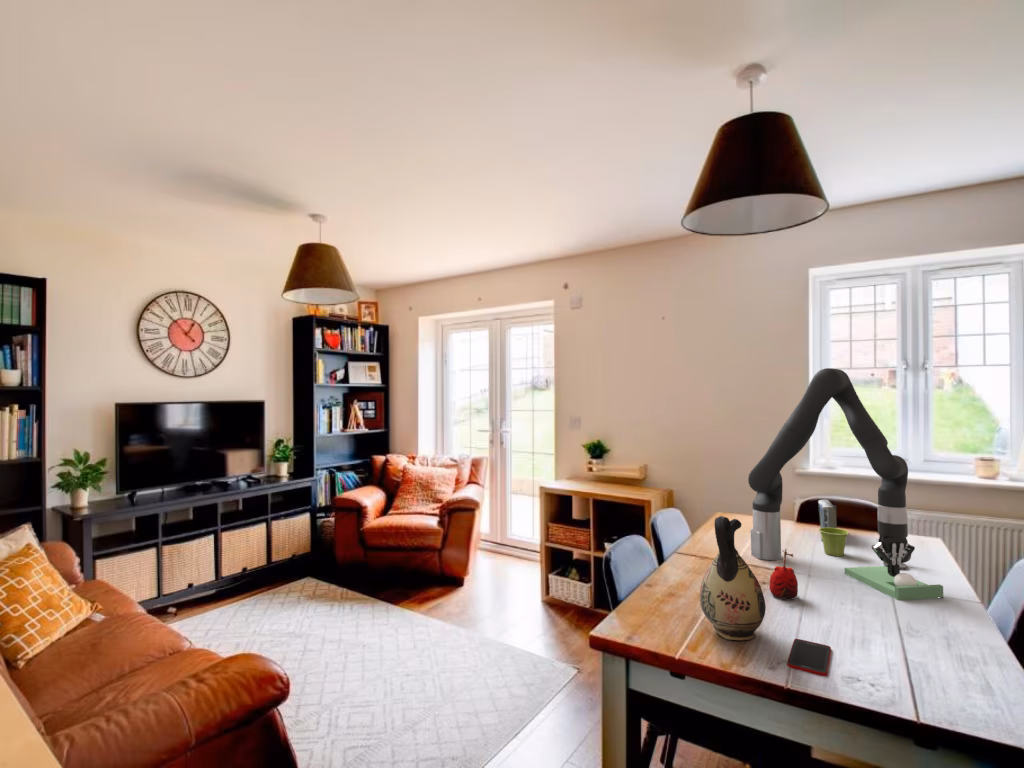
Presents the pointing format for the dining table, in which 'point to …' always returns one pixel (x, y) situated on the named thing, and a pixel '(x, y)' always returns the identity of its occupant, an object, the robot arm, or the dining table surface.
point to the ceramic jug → (731, 588)
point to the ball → (904, 580)
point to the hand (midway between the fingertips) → (893, 575)
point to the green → (885, 584)
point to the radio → (827, 514)
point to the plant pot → (834, 540)
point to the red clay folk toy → (784, 581)
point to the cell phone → (809, 657)
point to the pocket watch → (902, 565)
